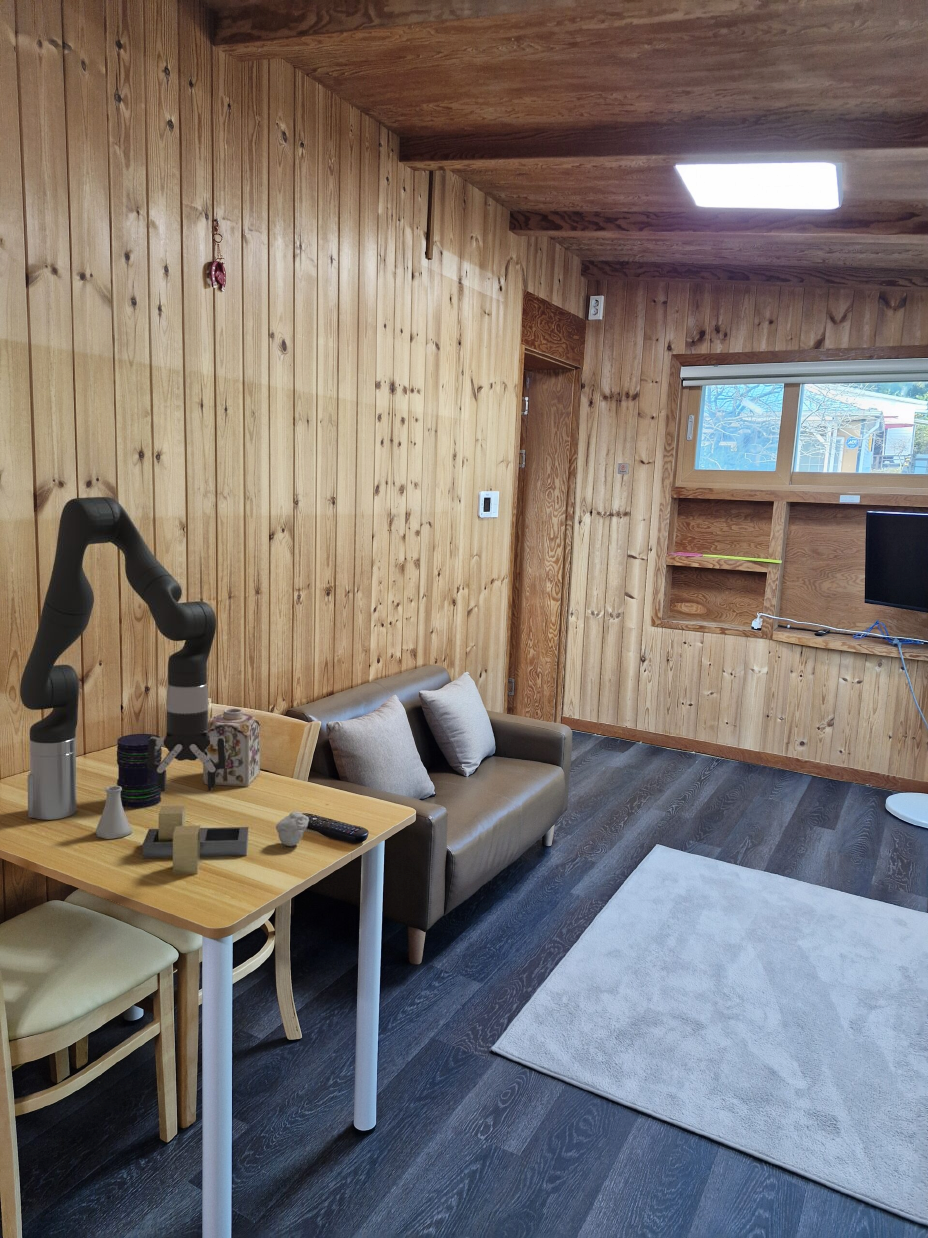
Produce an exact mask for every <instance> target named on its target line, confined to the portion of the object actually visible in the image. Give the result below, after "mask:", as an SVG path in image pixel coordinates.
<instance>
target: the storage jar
mask: <svg viewBox="0 0 928 1238" xmlns="http://www.w3.org/2000/svg"><path fill="white" fill-rule="evenodd" d="M152 736H156V737H157V738H162V737H161V735H158V734H157V735H156V734H151V733H135V734H134V733H132V734H126V735H123V736H120V737H118V738H117V741H116V742H117V743H116V745H117V746H116V749H117V750H116V758H117V759H116V764H117V765H118V771H117V772H118V776H117V777H118V778H117V780H116V786H121V788H122V791H121V792H120V797H121V803H122V807H123V809H124V808H125V809H145V808H151V807H154V806H156V805H158V804H160V803H161V801H162V796H161V795H162V792H161V789H158V787H157V772H156V771H155V770H149V769H148V768H147V758H148V742H149V740H150V738H151V737H152ZM162 750H163V749H162V745H161V746H160V748H159V749H157V750H156V762H158V763H161V762H162V760H163V759H162V758H163V757H162V754H163V752H162Z"/></svg>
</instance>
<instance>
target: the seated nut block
mask: <svg viewBox="0 0 928 1238" xmlns="http://www.w3.org/2000/svg"><path fill="white" fill-rule="evenodd" d="M185 806H186V805H161V807H160V809H159V811H158V829H159V842H173V833H174V830H175V827H176V826H186V825H185V823H186V822H185V820H186V819H185V816H186V815H185V812H186V811H185V810H186V809H185V808H186V807H185Z"/></svg>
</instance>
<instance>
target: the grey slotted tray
mask: <svg viewBox="0 0 928 1238" xmlns="http://www.w3.org/2000/svg"><path fill="white" fill-rule="evenodd" d="M248 846H249V826H236V827H235V826H231V827H230V826H229V827H200V858H203V857H204V858H207V857H211V858H213V857H239V856H240V857H241V856H248V855H247V853H248ZM166 858H167V859H168V858H169V859H171V858H172V859H173V842H159V828H148V830H147V833H146V835H145V838H144V840H143V842H142V859H166Z"/></svg>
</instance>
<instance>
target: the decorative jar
mask: <svg viewBox="0 0 928 1238" xmlns="http://www.w3.org/2000/svg"><path fill="white" fill-rule="evenodd" d="M208 735H209V737H210V738H214V737H219V736H221V735H222V736H224V737H225V750H226V765H225V768H224V769H219V770H217V771H216V785H215V786H227V787H228V786H230V787H245V788H247V787H249V786H250V785H251V784H252V783H253V781H254V780H256V778H257V777H258V776H259V774H260V773H261V723H260V722H259V720H258V719H257V718H256V717H255V716H253V715H251V714H248V713H243V710H242V709H239V708H232V707H231V708H226V709H225V708H224V710H223V713H222V714H221V713H220V714H217V715H214V716H212V717H211V718H209V719H208ZM206 751H207V752H208V754H209V755H210V757H211V758H212V760H213V761H214V762H218V749H215V748H214V746H213V744H209V746H208V747H207V748H206ZM202 764H203V763H202ZM202 773H203V774H202V777H203V778H202V780H203V784H204V785H208V769H207V767H206V766H205V765H204V764H203V766H202Z"/></svg>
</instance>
